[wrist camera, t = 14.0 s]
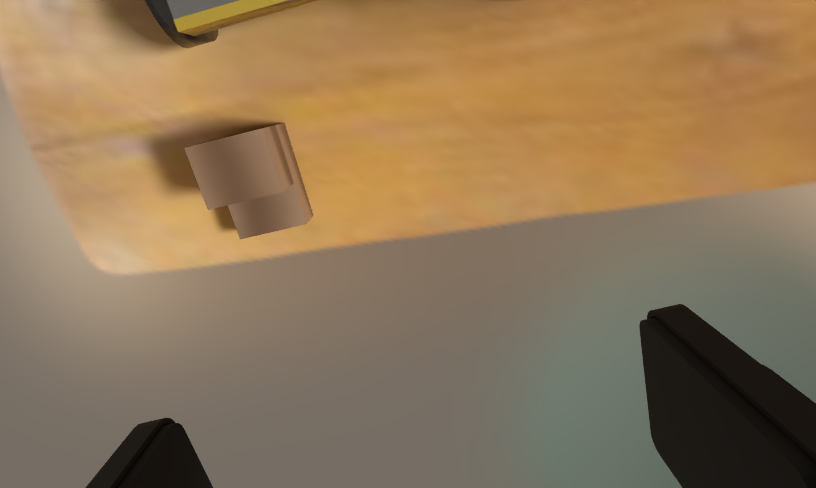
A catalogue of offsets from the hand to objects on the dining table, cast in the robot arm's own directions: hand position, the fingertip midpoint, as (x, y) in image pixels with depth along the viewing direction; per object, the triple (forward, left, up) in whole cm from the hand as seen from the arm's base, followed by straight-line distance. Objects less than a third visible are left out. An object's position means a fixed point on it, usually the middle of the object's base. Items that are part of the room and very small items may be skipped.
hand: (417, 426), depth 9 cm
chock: (+10, -3, -26) cm, 29 cm away
